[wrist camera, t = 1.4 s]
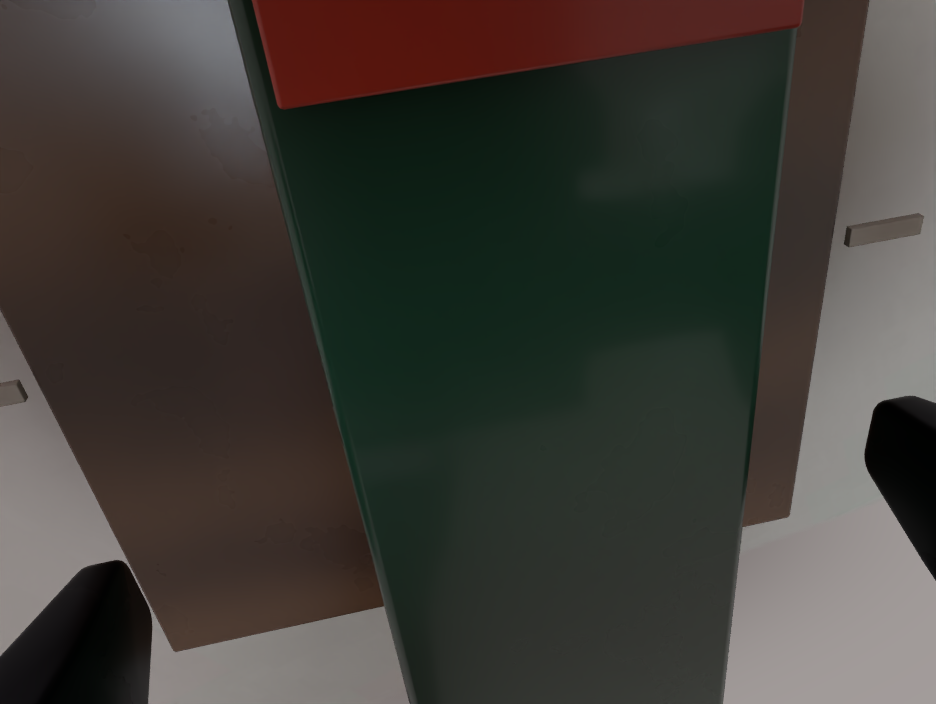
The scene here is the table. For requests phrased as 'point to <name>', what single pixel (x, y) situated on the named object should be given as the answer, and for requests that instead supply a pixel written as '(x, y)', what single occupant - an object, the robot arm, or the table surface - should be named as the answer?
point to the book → (537, 317)
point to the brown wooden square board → (271, 303)
